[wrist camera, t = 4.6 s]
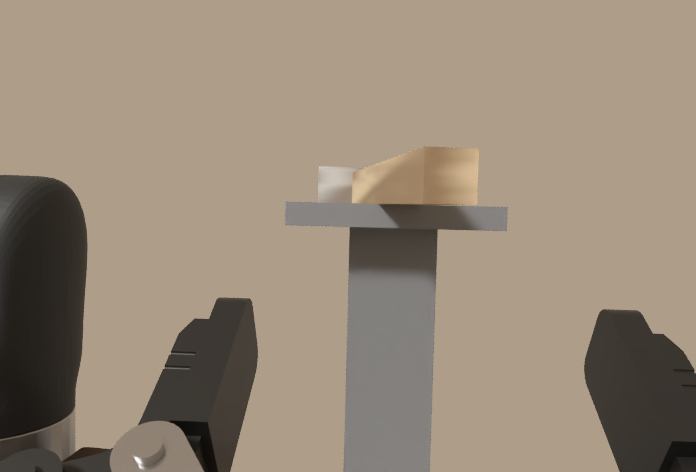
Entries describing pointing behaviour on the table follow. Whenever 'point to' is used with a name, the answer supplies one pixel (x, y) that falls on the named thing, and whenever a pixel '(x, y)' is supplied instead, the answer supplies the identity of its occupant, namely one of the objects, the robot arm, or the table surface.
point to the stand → (391, 323)
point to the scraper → (406, 179)
